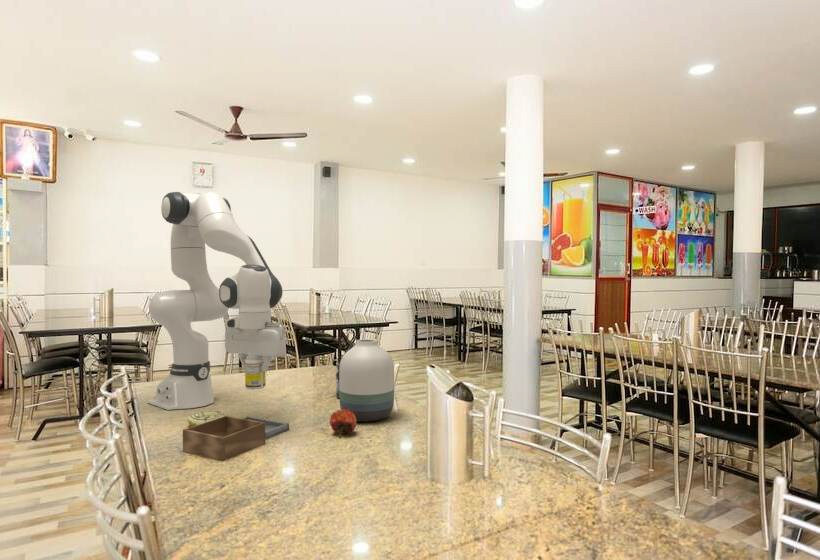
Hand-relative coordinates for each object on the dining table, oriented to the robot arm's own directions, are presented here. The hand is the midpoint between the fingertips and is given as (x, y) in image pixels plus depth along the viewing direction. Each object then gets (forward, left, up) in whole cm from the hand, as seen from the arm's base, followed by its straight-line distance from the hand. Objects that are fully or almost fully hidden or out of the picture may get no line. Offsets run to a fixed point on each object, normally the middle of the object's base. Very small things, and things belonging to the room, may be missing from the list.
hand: (255, 370), depth 147 cm
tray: (0, 0, -17) cm, 17 cm away
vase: (+21, +26, -18) cm, 38 cm away
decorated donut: (-16, -3, -18) cm, 24 cm away
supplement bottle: (0, 0, -5) cm, 5 cm away
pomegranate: (+24, +9, -18) cm, 31 cm away
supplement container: (+2, +45, -18) cm, 48 cm away
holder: (+3, -14, -17) cm, 22 cm away
